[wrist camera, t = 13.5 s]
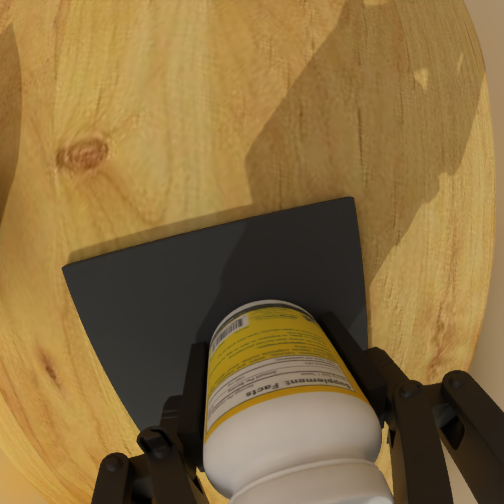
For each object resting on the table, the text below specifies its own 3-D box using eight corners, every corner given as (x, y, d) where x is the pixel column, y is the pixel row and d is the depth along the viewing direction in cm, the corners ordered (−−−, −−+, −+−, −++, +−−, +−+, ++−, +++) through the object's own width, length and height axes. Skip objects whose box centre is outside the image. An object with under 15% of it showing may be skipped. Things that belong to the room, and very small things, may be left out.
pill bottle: (304, 392, 17) (362, 546, 6) (204, 383, 16) (195, 561, 5) (334, 302, 15) (459, 455, 5) (218, 286, 15) (210, 492, 4)
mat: (349, 196, 15) (354, 196, 14) (365, 397, 18) (368, 402, 18) (65, 264, 14) (60, 267, 14) (150, 440, 18) (149, 445, 17)
